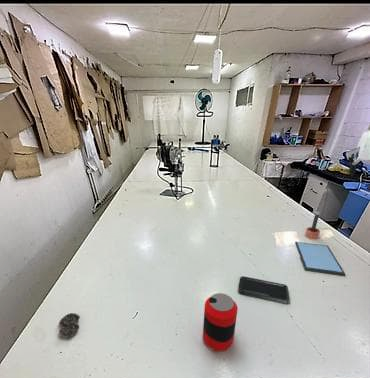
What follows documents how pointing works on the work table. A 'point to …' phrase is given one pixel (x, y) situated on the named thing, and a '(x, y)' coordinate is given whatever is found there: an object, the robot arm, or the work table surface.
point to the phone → (263, 289)
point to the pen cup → (312, 233)
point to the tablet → (318, 259)
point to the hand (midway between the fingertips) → (365, 175)
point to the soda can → (219, 322)
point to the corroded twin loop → (69, 325)
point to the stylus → (315, 221)
